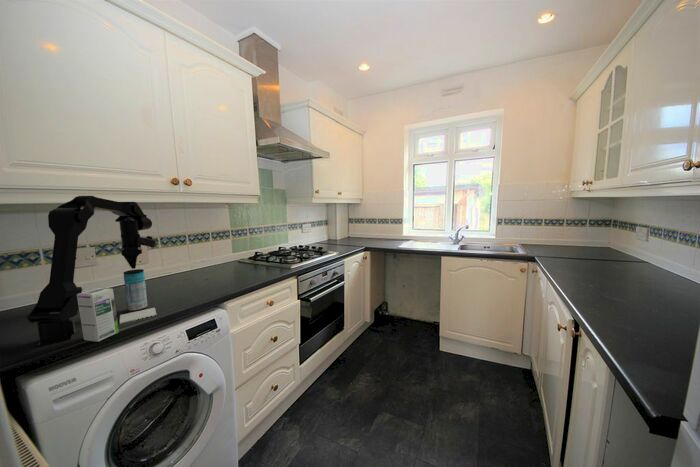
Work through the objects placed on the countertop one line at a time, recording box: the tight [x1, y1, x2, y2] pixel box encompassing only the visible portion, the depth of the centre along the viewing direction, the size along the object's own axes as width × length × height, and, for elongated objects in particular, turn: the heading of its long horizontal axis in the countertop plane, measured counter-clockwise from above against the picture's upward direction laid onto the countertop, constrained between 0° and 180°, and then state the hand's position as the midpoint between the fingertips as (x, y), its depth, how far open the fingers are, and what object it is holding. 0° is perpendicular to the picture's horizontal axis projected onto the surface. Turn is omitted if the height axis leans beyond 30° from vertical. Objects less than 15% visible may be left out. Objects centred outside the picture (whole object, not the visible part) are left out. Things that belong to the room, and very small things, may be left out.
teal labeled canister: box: [123, 268, 148, 313], centre depth 98 cm, size 6×6×15 cm
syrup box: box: [77, 287, 120, 343], centre depth 78 cm, size 6×6×14 cm
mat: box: [119, 307, 158, 325], centre depth 93 cm, size 10×8×1 cm
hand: (133, 268), depth 109 cm, fingers closed
